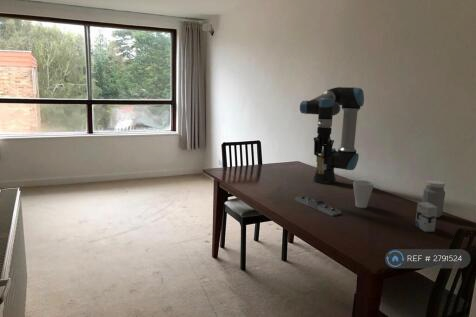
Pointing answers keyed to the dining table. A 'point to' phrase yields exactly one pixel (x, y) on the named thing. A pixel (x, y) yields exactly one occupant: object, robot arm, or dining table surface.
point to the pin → (320, 163)
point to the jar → (435, 195)
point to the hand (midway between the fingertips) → (321, 169)
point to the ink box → (426, 216)
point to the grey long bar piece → (318, 205)
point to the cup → (362, 192)
